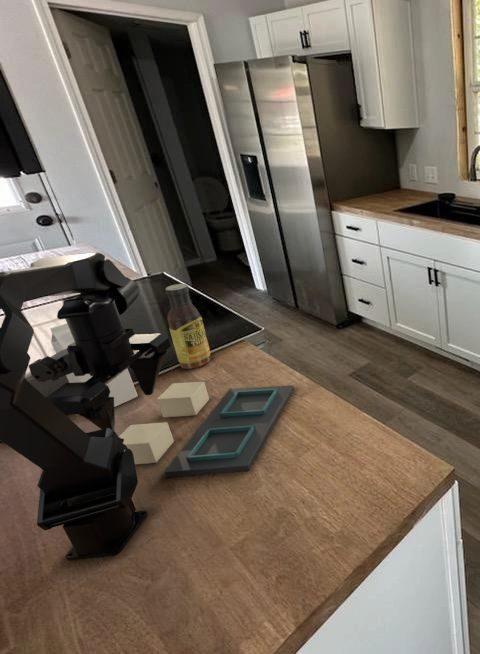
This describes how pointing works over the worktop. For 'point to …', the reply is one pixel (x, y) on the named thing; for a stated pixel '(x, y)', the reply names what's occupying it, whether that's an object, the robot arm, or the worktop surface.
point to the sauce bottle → (187, 329)
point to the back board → (232, 432)
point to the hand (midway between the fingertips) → (130, 411)
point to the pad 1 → (147, 441)
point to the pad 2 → (183, 399)
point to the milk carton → (118, 386)
